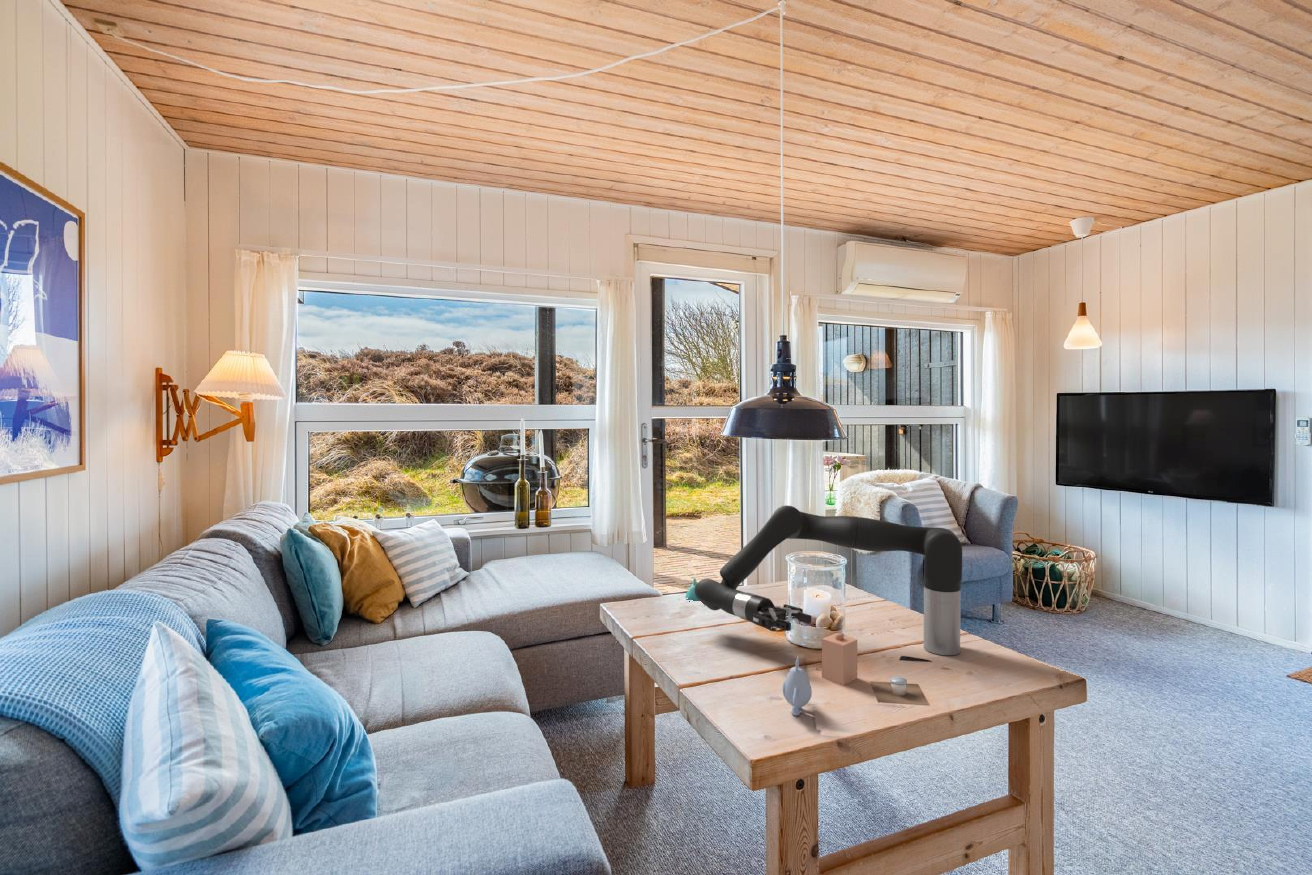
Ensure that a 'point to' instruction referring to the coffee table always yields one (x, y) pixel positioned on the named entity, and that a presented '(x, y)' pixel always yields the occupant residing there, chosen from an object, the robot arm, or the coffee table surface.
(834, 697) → the coffee table surface
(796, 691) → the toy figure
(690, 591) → the green christmas tree
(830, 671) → the cover
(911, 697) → the board
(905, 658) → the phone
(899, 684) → the ramekin
